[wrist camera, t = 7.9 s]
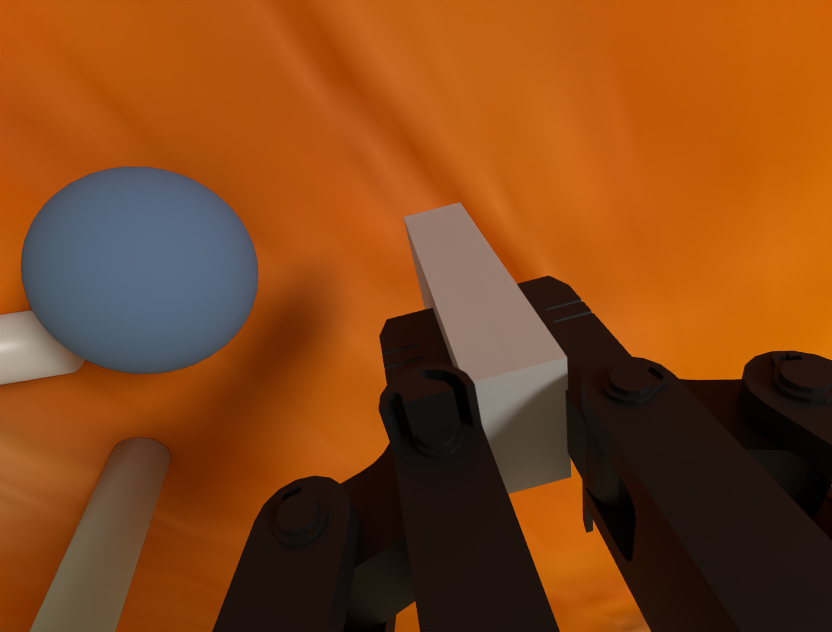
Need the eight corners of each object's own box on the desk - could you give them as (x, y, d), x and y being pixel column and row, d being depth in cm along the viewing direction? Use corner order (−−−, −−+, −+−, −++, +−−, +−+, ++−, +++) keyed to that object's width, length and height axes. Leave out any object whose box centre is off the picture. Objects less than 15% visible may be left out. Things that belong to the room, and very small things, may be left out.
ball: (-104, 222, 10) (75, 167, 16) (43, 429, 13) (153, 324, 18) (148, 173, 10) (247, 134, 15) (247, 402, 13) (301, 301, 18)
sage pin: (154, 431, 21) (73, 643, 14) (179, 465, 22) (118, 673, 15) (100, 446, 21) (-7, 666, 14) (129, 479, 22) (45, 695, 15)
